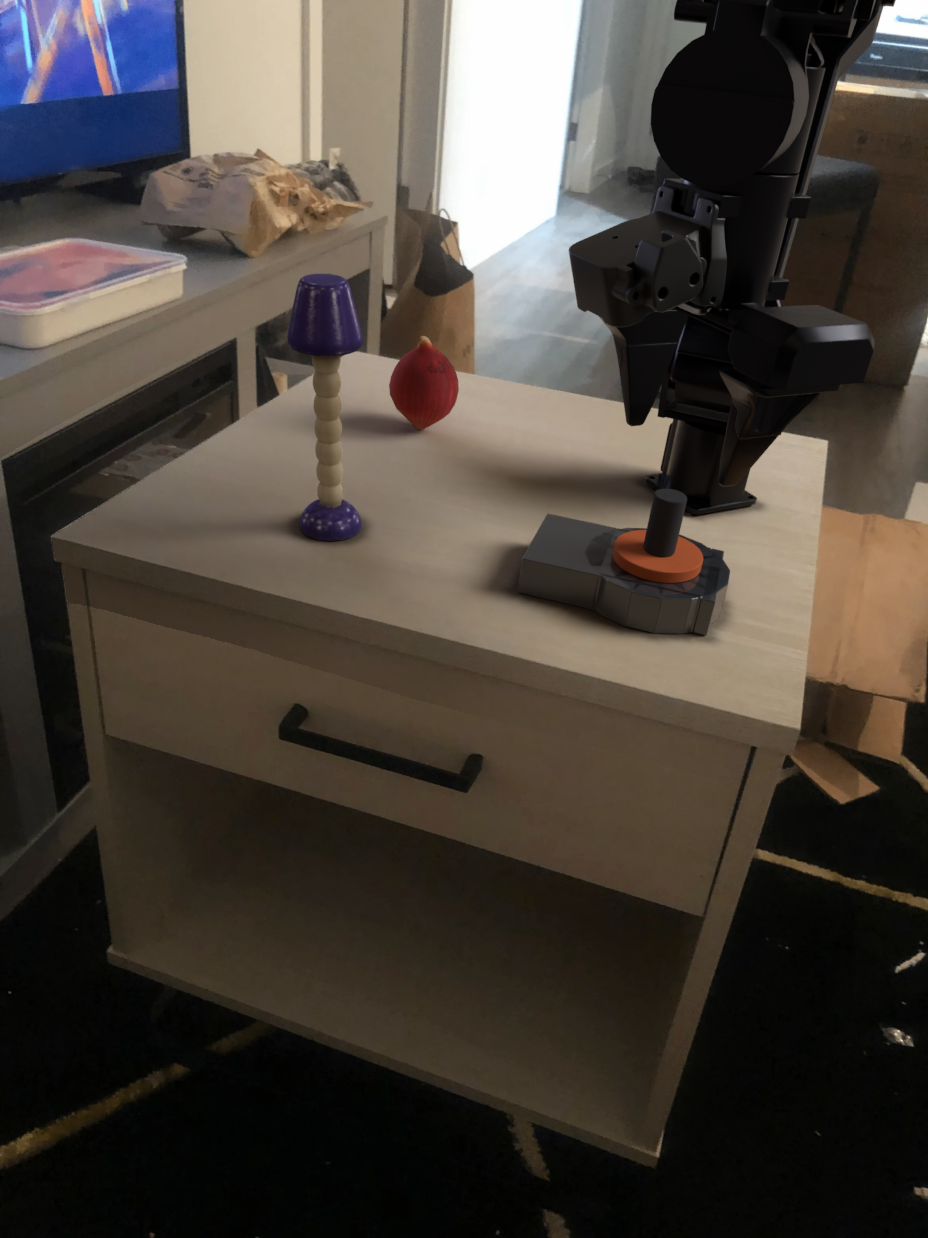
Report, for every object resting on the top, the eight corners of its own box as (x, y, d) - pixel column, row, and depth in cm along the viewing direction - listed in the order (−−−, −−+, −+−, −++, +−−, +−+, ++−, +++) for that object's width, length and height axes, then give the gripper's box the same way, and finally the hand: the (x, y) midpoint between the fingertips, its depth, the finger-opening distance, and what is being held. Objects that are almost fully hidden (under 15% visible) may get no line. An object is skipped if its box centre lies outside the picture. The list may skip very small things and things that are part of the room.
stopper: (701, 580, 63) (724, 489, 59) (684, 620, 58) (708, 524, 55) (619, 558, 64) (636, 468, 61) (597, 596, 60) (614, 501, 56)
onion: (458, 421, 85) (465, 331, 80) (450, 445, 80) (458, 350, 76) (393, 413, 85) (397, 323, 81) (382, 437, 80) (386, 342, 76)
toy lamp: (313, 549, 63) (313, 291, 54) (277, 521, 66) (271, 271, 57) (373, 532, 66) (382, 283, 57) (336, 506, 68) (339, 265, 59)
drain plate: (725, 577, 64) (734, 545, 63) (714, 647, 57) (724, 612, 55) (545, 538, 67) (550, 506, 66) (512, 600, 59) (517, 565, 58)
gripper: (515, 134, 52) (487, 408, 60) (734, 199, 38) (658, 543, 46) (680, 141, 56) (633, 395, 65) (930, 202, 42) (828, 515, 51)
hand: (678, 453), depth 57 cm, fingers open, 9 cm apart
